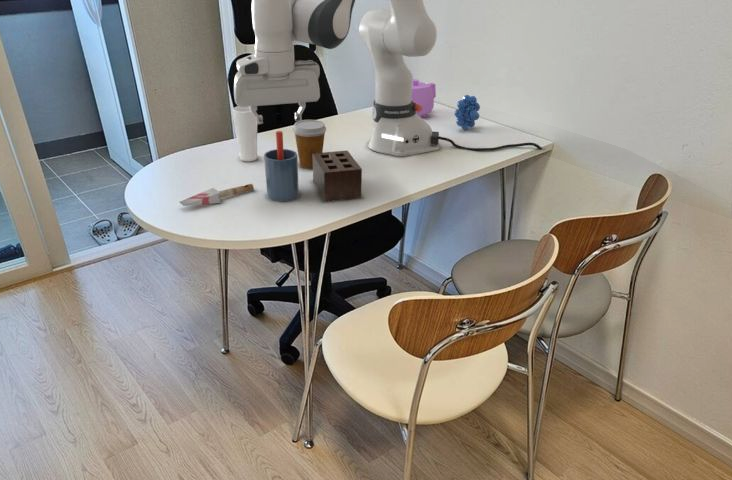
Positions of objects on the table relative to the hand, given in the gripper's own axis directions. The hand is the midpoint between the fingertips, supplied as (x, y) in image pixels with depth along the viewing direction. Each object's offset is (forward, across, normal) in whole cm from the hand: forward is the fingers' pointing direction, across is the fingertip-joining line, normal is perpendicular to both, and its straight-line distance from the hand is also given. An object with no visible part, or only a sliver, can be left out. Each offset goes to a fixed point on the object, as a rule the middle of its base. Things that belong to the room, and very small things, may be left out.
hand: (279, 121), depth 135 cm
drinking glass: (+20, +6, -28) cm, 34 cm away
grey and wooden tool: (+19, +17, -1) cm, 26 cm away
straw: (+18, 0, 0) cm, 18 cm away
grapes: (+20, -70, -37) cm, 82 cm away
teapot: (+20, -58, -57) cm, 84 cm away
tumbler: (+19, 0, 0) cm, 19 cm away
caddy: (+19, -14, 0) cm, 24 cm away
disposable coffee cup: (+20, -11, -19) cm, 29 cm away
